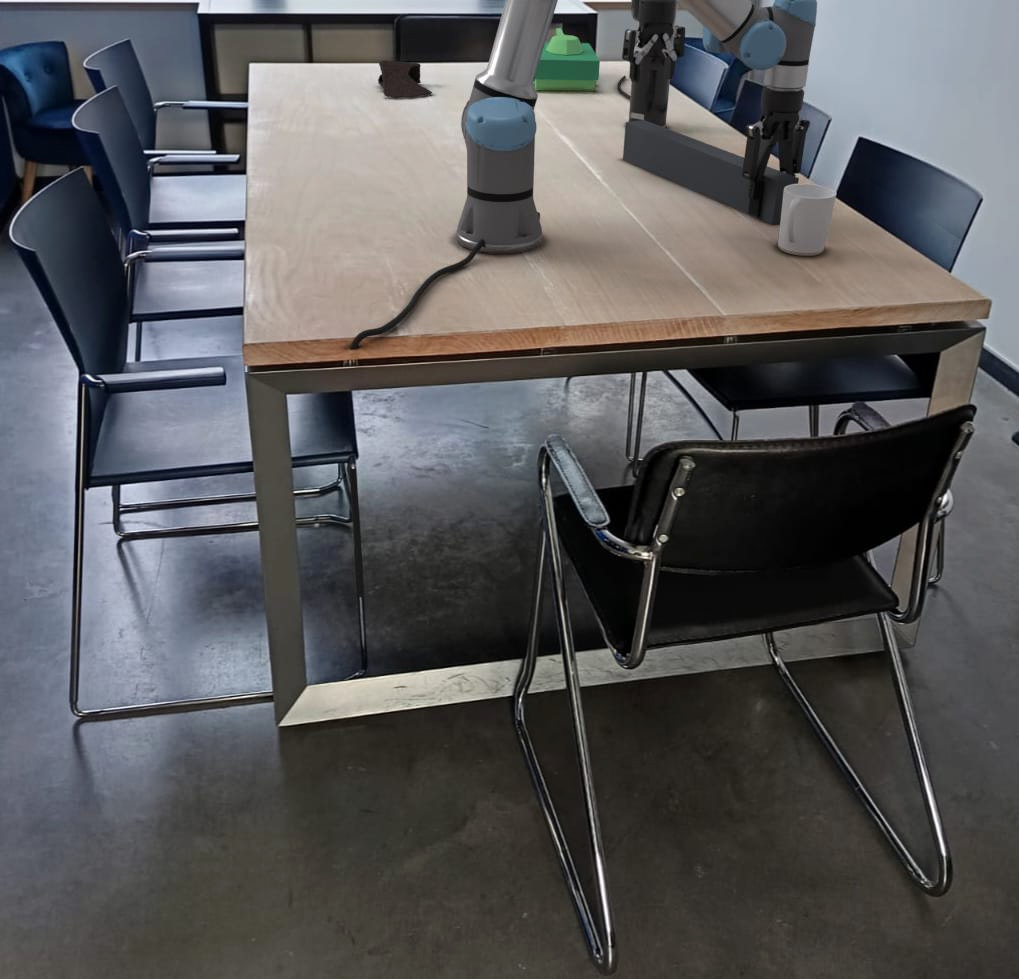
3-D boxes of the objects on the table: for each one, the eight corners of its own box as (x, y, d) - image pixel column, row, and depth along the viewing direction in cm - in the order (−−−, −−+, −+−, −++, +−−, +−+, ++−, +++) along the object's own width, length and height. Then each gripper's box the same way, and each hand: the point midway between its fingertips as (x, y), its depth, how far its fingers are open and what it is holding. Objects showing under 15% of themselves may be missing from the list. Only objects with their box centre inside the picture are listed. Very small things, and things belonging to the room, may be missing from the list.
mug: (789, 236, 200) (798, 180, 195) (834, 247, 195) (845, 190, 190) (760, 251, 193) (769, 193, 188) (807, 263, 188) (817, 204, 183)
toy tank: (587, 25, 326) (600, 46, 296) (584, 68, 332) (597, 93, 303) (528, 24, 325) (535, 44, 295) (526, 67, 331) (534, 92, 302)
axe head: (443, 87, 294) (392, 77, 287) (436, 115, 299) (385, 106, 292) (421, 62, 307) (371, 52, 300) (414, 89, 311) (365, 80, 304)
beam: (792, 221, 209) (799, 178, 205) (772, 224, 207) (778, 181, 203) (641, 157, 246) (644, 119, 242) (622, 159, 244) (625, 122, 240)
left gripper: (807, 79, 206) (788, 201, 218) (731, 87, 198) (716, 213, 210) (835, 87, 200) (814, 212, 212) (758, 95, 192) (741, 224, 205)
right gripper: (675, -7, 230) (668, 74, 238) (619, -4, 224) (613, 79, 232) (697, -2, 224) (688, 81, 233) (639, 1, 218) (633, 86, 227)
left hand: (765, 212), depth 211 cm, fingers closed on beam, 5 cm apart
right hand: (651, 80), depth 232 cm, fingers open, 8 cm apart
